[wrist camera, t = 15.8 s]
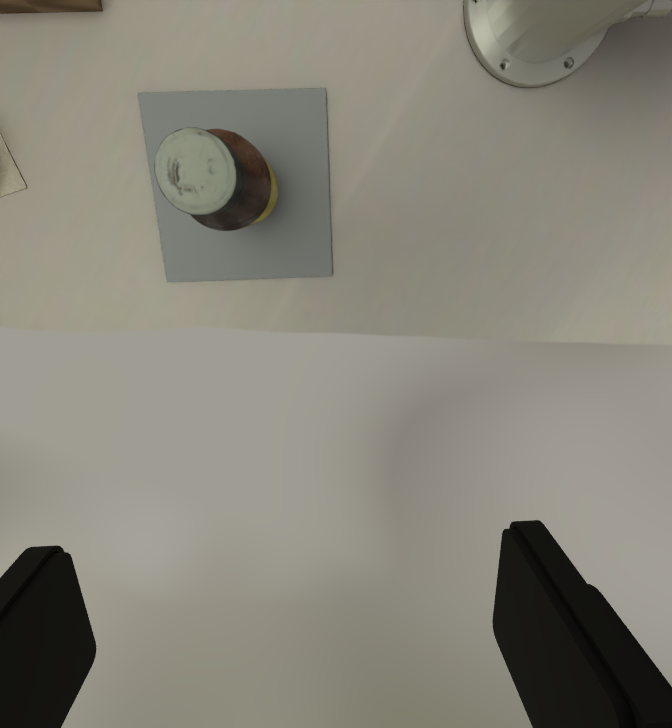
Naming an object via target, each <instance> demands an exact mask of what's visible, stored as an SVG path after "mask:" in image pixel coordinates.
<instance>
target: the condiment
mask: <svg viewBox="0 0 672 728" xmlns="http://www.w3.org/2000/svg"><path fill="white" fill-rule="evenodd" d="M24 188H27V187H26V185H25V183H24V181H23V179H22V177H21V175H20V173H19V171H18V169H17V167H16V165H15V163H14V161H13V159H12V157H11V155H10V153H9V151H8V149H7V147H6V145H5V143H4V141H3V138H2V136H1V134H0V197H1V196H4V195H7V194H10V193H13V192H16V191H19V190H21V189H24Z"/></svg>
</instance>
